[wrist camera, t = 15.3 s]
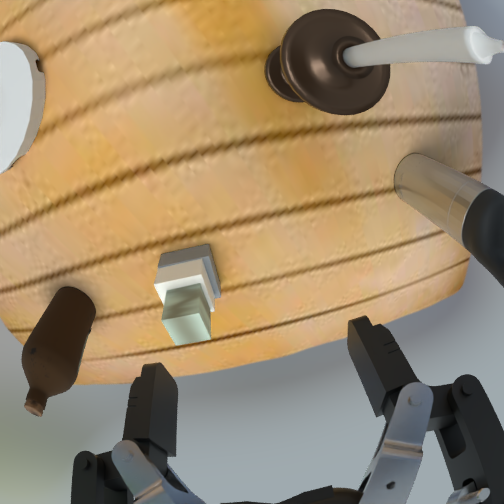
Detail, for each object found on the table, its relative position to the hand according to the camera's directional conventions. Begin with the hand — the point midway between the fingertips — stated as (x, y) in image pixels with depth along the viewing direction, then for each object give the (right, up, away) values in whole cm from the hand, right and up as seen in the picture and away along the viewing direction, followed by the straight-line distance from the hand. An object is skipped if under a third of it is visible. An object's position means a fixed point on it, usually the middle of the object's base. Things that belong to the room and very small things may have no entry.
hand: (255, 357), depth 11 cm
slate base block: (-10, +2, +35) cm, 37 cm away
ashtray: (-42, +28, +15) cm, 53 cm away
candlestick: (+6, +29, +21) cm, 36 cm away
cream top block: (-10, 0, +31) cm, 33 cm away
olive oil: (-35, -6, +36) cm, 51 cm away
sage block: (-9, -3, +28) cm, 30 cm away
